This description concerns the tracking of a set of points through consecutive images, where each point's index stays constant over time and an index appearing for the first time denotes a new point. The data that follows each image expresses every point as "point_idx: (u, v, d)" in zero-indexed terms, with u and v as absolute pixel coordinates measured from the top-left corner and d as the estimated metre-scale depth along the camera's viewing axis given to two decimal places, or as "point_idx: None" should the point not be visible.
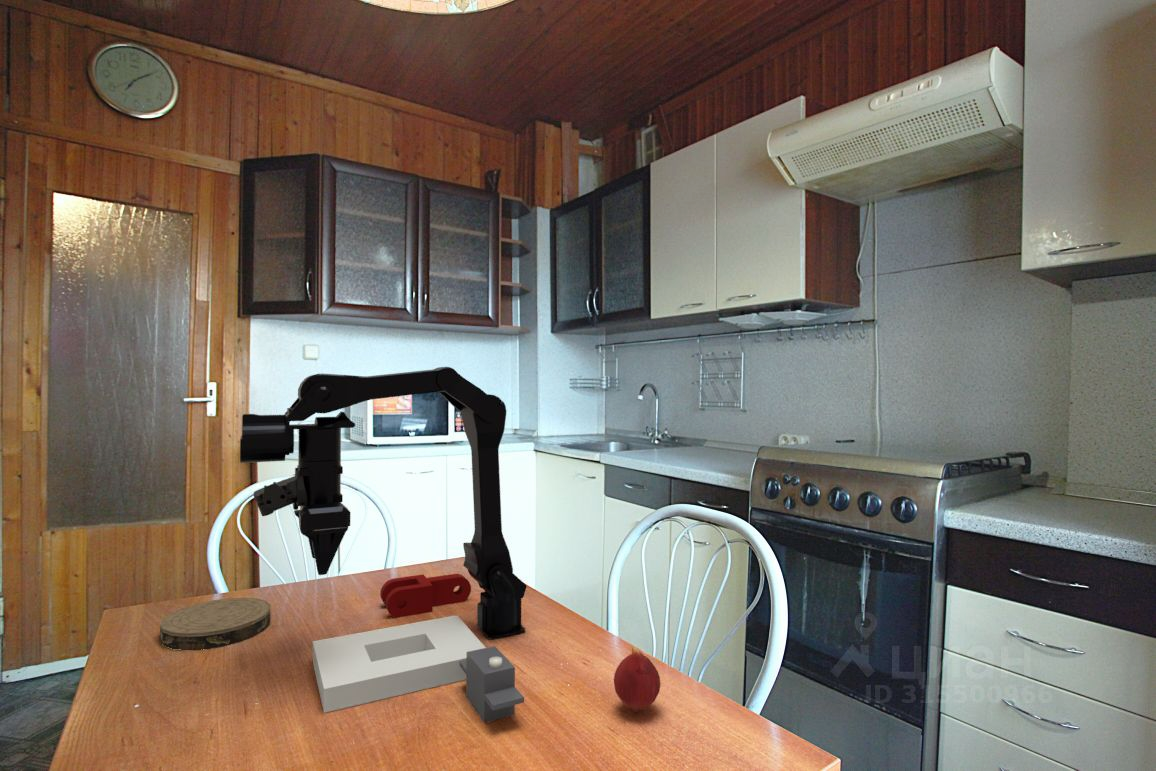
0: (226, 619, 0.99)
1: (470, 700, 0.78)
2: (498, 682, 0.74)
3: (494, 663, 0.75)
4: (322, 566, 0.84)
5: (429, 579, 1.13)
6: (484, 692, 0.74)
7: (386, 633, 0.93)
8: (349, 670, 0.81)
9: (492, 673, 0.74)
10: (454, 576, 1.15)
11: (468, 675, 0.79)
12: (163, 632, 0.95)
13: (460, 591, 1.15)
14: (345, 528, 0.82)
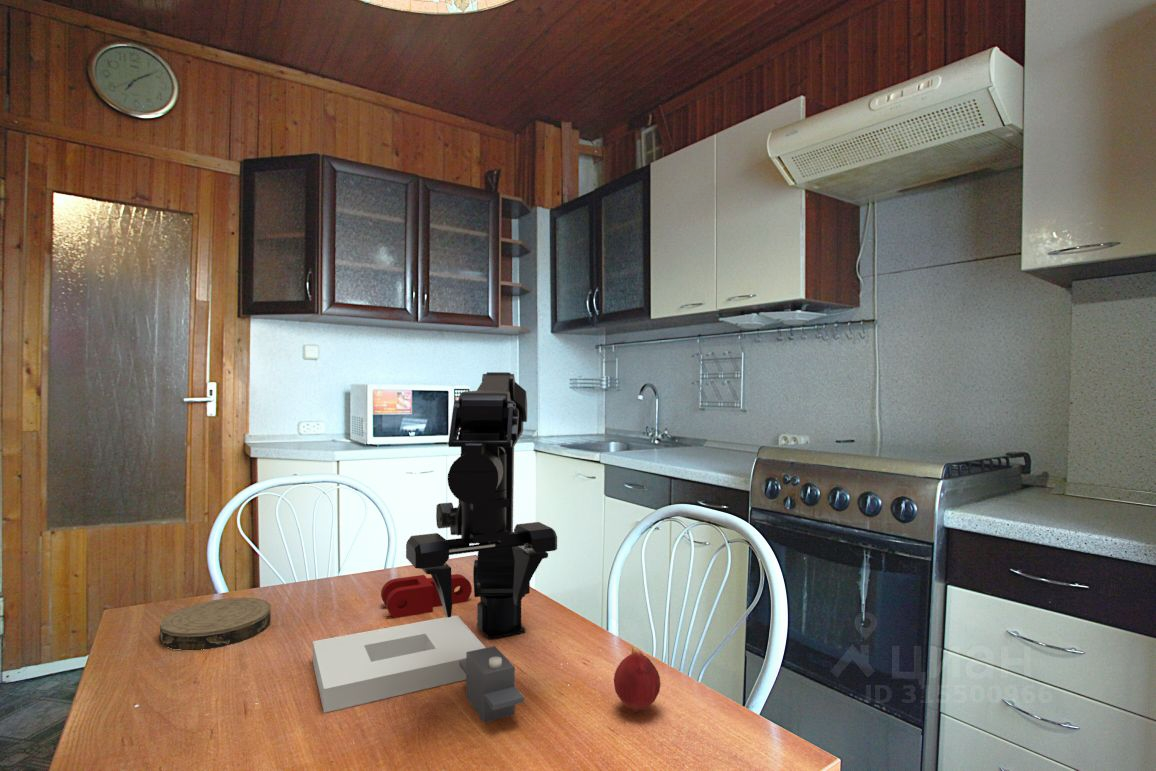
0: (226, 619, 0.99)
1: (470, 700, 0.78)
2: (498, 682, 0.74)
3: (494, 663, 0.75)
4: (443, 606, 0.75)
5: (430, 579, 1.13)
6: (484, 692, 0.74)
7: (386, 633, 0.93)
8: (349, 670, 0.81)
9: (492, 673, 0.74)
10: (455, 576, 1.15)
11: (468, 675, 0.79)
12: (163, 632, 0.95)
13: (461, 591, 1.15)
14: (427, 570, 0.72)
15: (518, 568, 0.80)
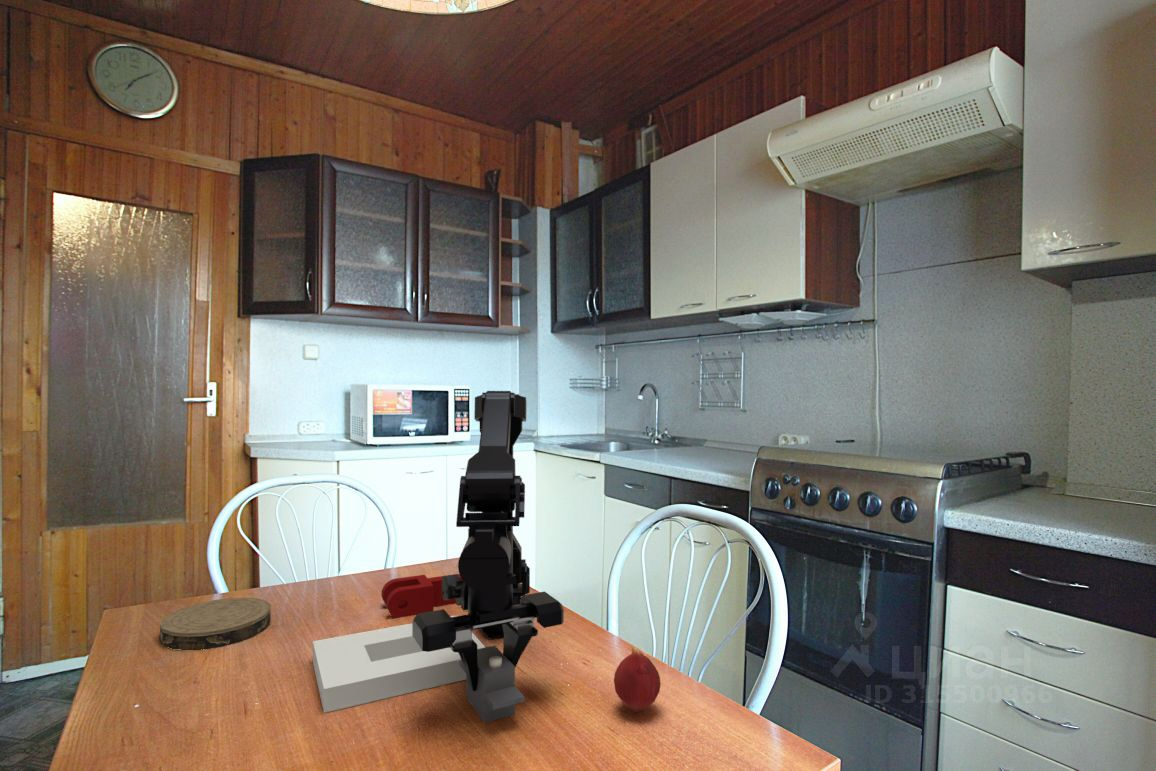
0: (226, 619, 0.99)
1: (470, 699, 0.78)
2: (498, 681, 0.74)
3: (494, 662, 0.75)
4: (469, 680, 0.76)
5: (430, 579, 1.13)
6: (484, 691, 0.74)
7: (386, 633, 0.93)
8: (349, 670, 0.81)
9: (492, 672, 0.74)
10: None
11: None
12: (163, 632, 0.95)
13: None
14: (454, 648, 0.73)
15: (507, 645, 0.79)
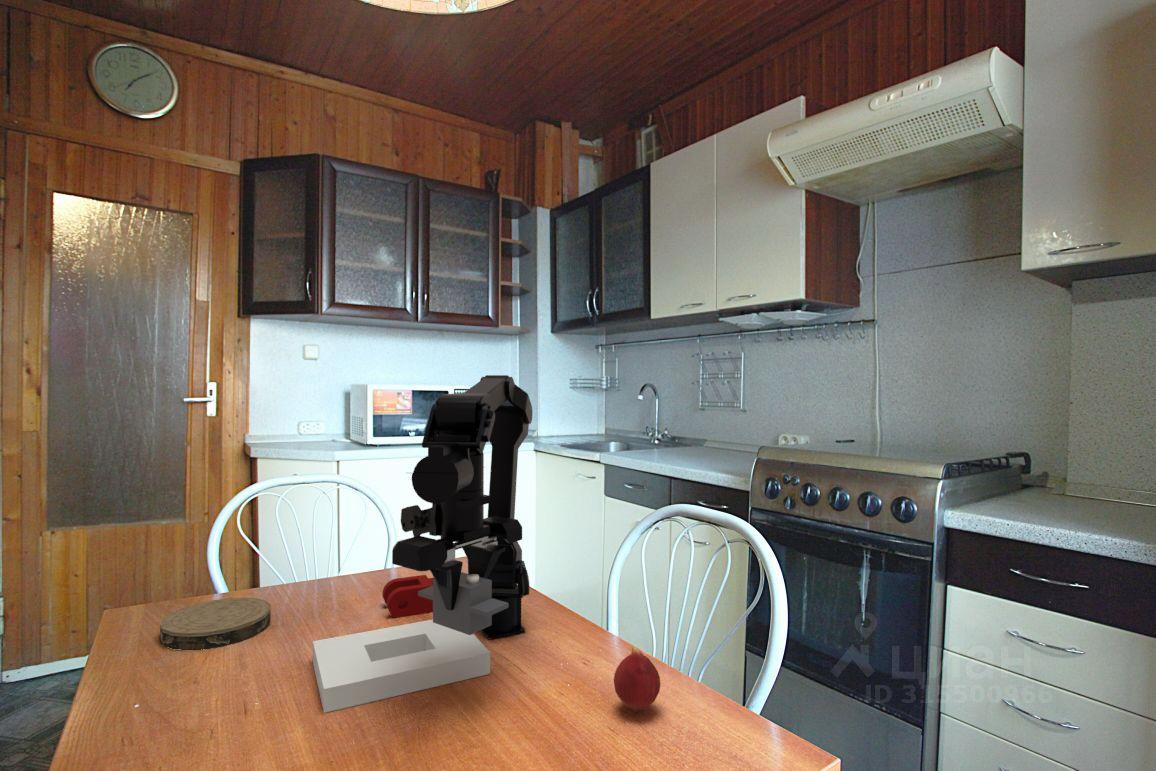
0: (226, 619, 0.99)
1: (441, 622, 0.80)
2: (480, 595, 0.79)
3: (474, 578, 0.79)
4: (446, 601, 0.79)
5: (431, 579, 1.13)
6: (469, 605, 0.77)
7: (386, 633, 0.93)
8: (349, 670, 0.81)
9: (475, 587, 0.78)
10: None
11: (437, 599, 0.81)
12: (163, 632, 0.95)
13: None
14: (444, 567, 0.75)
15: (475, 565, 0.83)
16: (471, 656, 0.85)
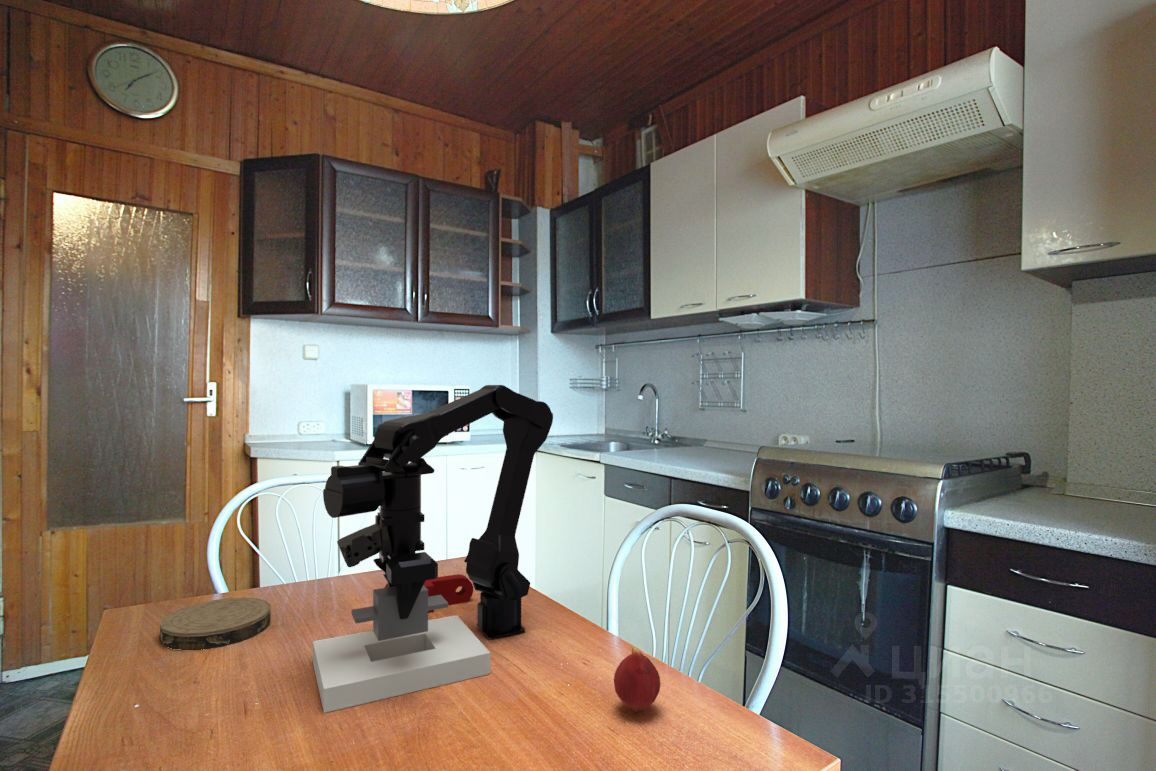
0: (226, 619, 0.99)
1: (391, 635, 0.85)
2: None
3: None
4: (404, 611, 0.85)
5: (431, 579, 1.13)
6: (427, 605, 0.88)
7: None
8: (349, 670, 0.81)
9: (426, 588, 0.89)
10: (457, 576, 1.15)
11: (384, 616, 0.85)
12: (163, 632, 0.95)
13: (462, 592, 1.15)
14: None
15: None
16: (471, 656, 0.85)
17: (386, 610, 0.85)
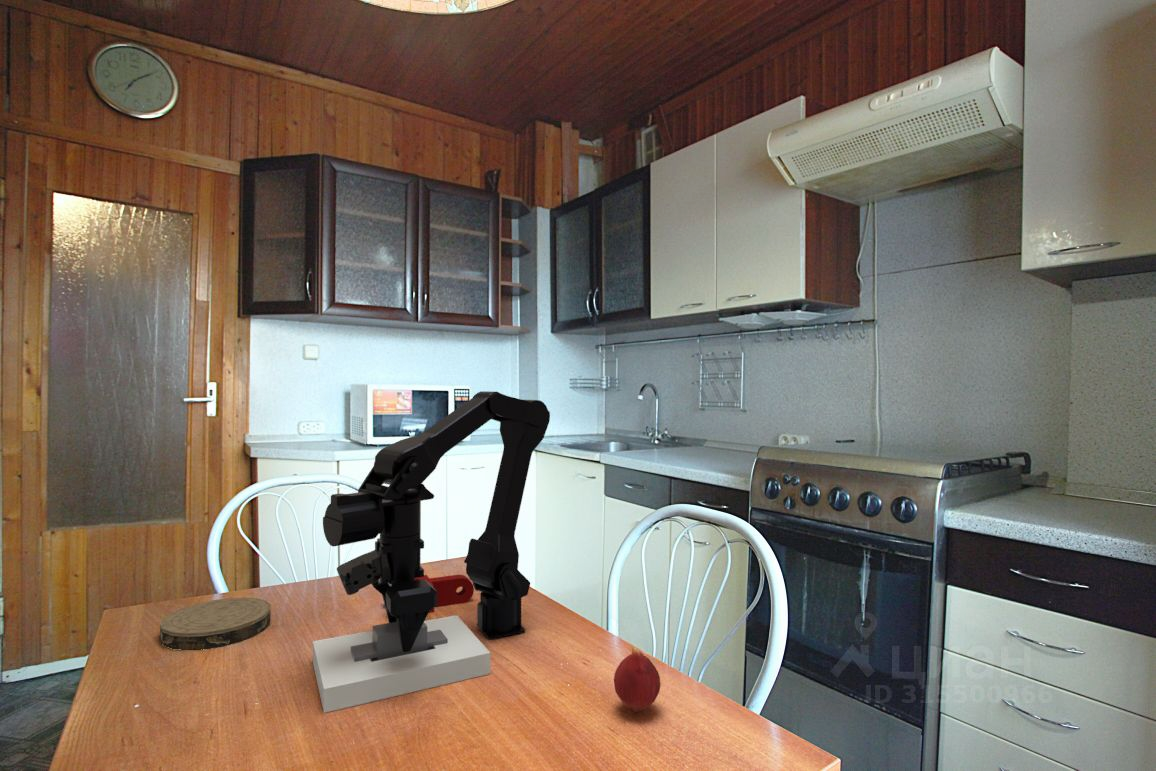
0: (226, 619, 0.99)
1: None
2: None
3: None
4: (407, 643, 0.84)
5: (432, 579, 1.13)
6: (426, 642, 0.88)
7: None
8: (349, 670, 0.81)
9: (425, 624, 0.89)
10: (457, 576, 1.15)
11: (384, 654, 0.85)
12: (163, 632, 0.95)
13: (463, 592, 1.15)
14: None
15: None
16: (471, 656, 0.85)
17: (385, 648, 0.85)
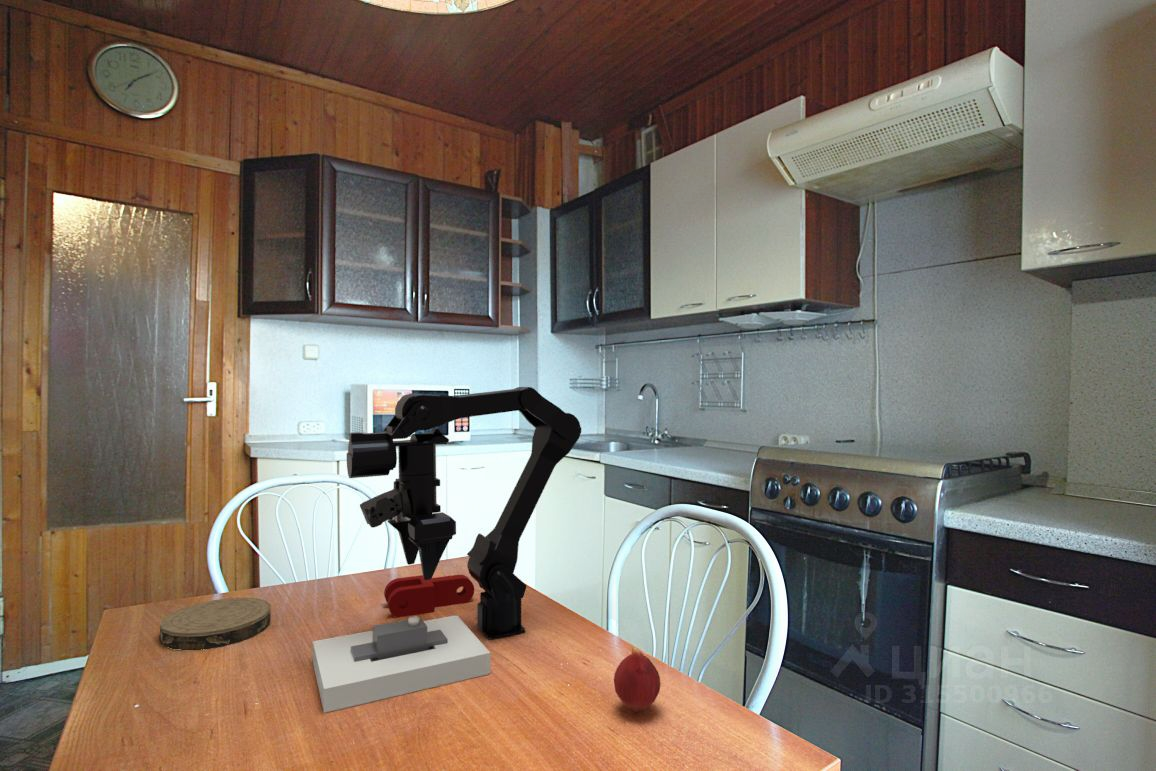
0: (226, 619, 0.99)
1: None
2: None
3: (419, 619, 0.89)
4: (428, 572, 0.91)
5: (432, 579, 1.13)
6: (426, 642, 0.88)
7: None
8: (349, 670, 0.81)
9: (425, 624, 0.89)
10: (458, 576, 1.15)
11: (384, 654, 0.85)
12: (163, 632, 0.95)
13: (463, 592, 1.15)
14: (450, 536, 0.90)
15: (410, 535, 0.99)
16: (471, 656, 0.85)
17: (385, 648, 0.85)
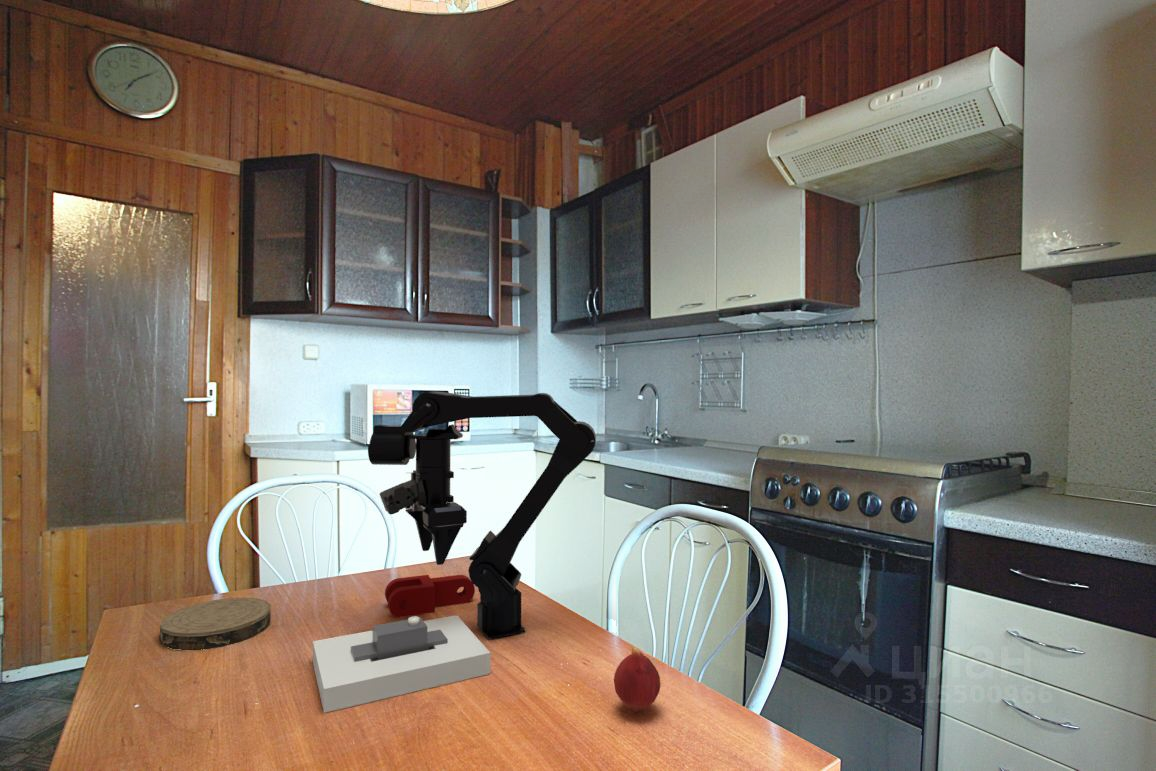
0: (226, 619, 0.99)
1: None
2: None
3: (419, 619, 0.89)
4: (440, 557, 0.98)
5: (433, 579, 1.13)
6: (426, 642, 0.88)
7: None
8: (349, 670, 0.81)
9: (425, 624, 0.89)
10: (458, 577, 1.15)
11: (384, 654, 0.85)
12: (163, 632, 0.95)
13: (464, 592, 1.15)
14: (461, 524, 0.96)
15: None
16: (471, 656, 0.85)
17: (385, 648, 0.85)
